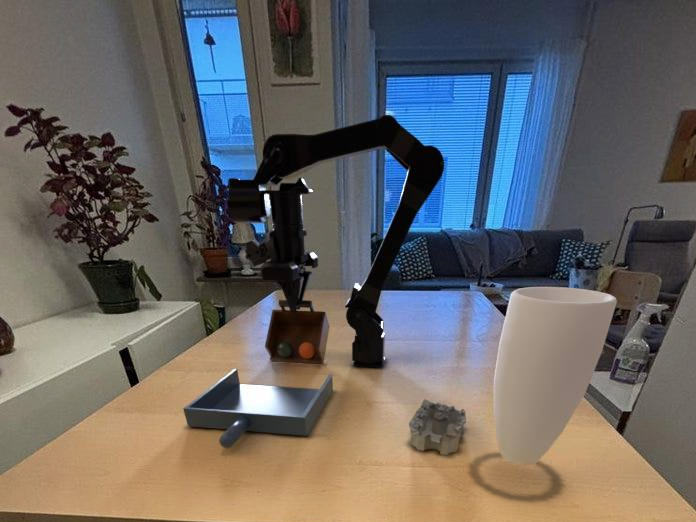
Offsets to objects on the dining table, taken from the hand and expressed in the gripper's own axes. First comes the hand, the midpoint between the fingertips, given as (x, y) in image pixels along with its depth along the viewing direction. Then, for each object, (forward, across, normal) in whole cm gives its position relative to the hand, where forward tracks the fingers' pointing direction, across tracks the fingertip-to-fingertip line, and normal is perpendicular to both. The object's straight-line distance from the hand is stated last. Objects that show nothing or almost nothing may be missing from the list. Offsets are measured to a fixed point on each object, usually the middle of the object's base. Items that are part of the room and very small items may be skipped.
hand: (295, 310), depth 84 cm
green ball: (+8, +2, -2) cm, 8 cm away
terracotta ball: (+8, +2, +3) cm, 8 cm away
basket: (+8, -2, 0) cm, 8 cm away
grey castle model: (+10, +32, +32) cm, 46 cm away
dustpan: (+10, +30, +2) cm, 32 cm away
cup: (+9, +41, +42) cm, 59 cm away
